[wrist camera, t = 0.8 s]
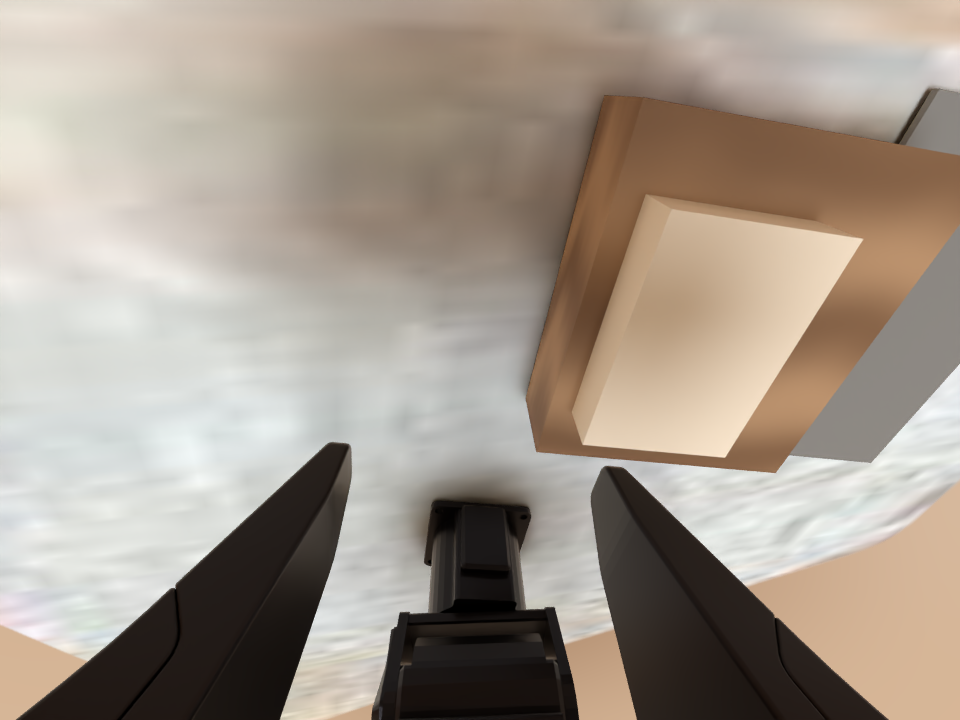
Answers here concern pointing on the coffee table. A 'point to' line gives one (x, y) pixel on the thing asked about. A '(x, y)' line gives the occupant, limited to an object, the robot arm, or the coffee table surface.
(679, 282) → the cream rectangular block
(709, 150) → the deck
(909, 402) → the mat
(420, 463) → the coffee table surface
